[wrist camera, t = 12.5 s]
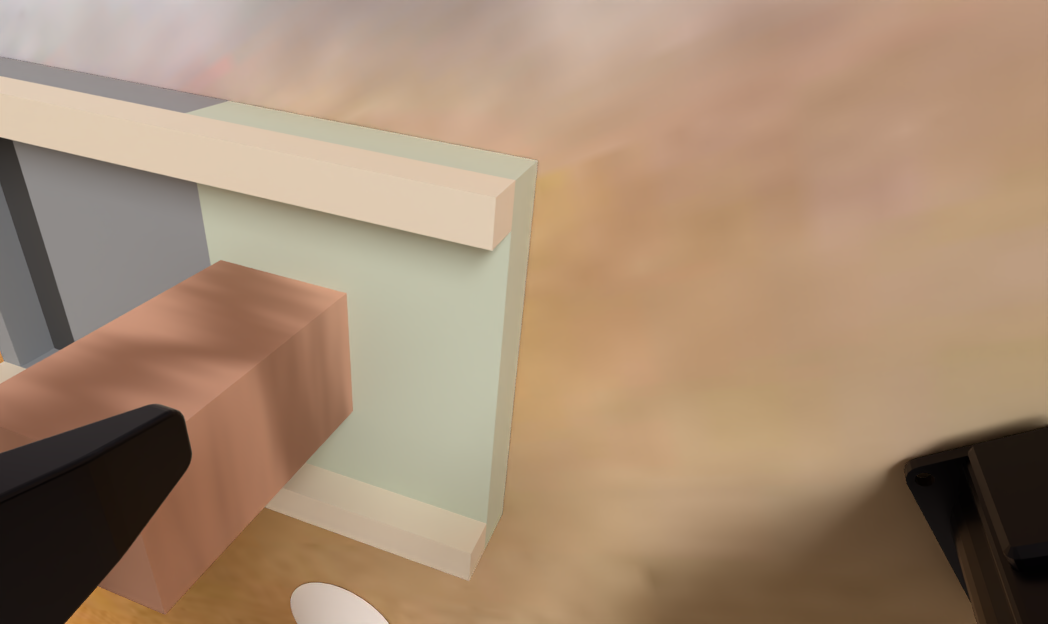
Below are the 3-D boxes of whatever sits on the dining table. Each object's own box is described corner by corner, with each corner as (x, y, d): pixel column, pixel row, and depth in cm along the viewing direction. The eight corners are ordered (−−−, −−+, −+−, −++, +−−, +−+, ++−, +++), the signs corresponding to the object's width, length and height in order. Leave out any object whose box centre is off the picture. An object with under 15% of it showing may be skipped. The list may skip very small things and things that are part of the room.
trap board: (538, 160, 20) (495, 197, 17) (502, 513, 27) (469, 581, 25) (-55, 46, 25) (-163, 59, 23) (52, 365, 33) (-18, 405, 30)
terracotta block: (346, 293, 22) (122, 471, 15) (353, 411, 25) (165, 615, 17) (220, 259, 23) (-47, 409, 16) (239, 375, 26) (17, 551, 18)
